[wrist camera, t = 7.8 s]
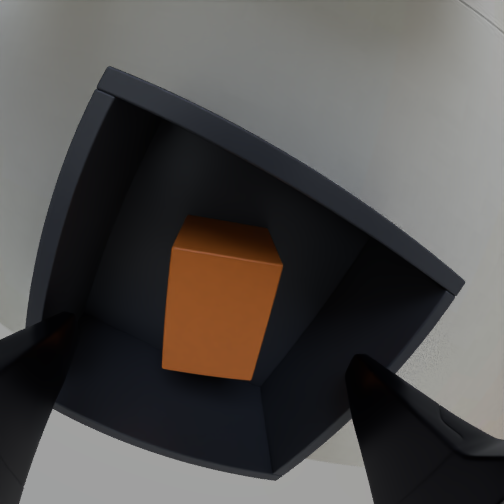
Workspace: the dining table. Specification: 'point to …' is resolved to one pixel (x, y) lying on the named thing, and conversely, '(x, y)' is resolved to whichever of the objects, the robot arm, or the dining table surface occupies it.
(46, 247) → the open box
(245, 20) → the dining table surface
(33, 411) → the robot arm
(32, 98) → the dining table surface
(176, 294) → the orange block
